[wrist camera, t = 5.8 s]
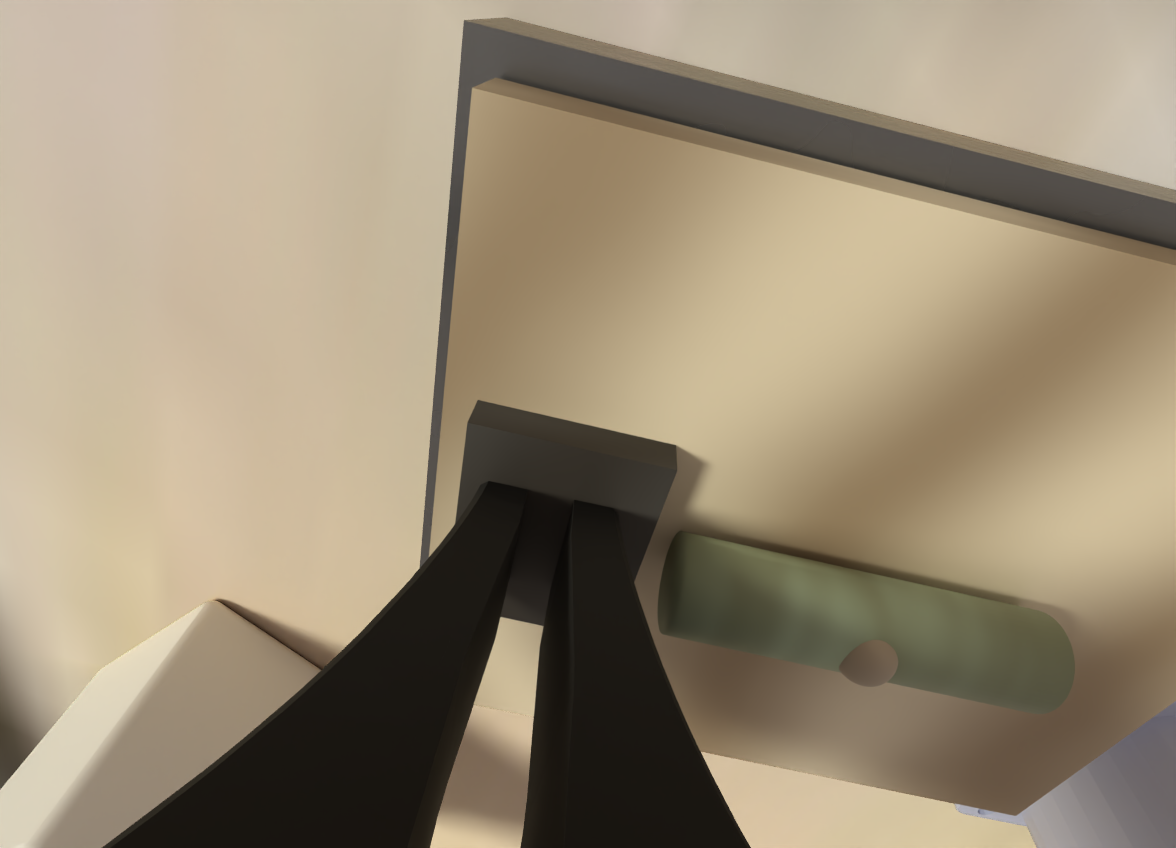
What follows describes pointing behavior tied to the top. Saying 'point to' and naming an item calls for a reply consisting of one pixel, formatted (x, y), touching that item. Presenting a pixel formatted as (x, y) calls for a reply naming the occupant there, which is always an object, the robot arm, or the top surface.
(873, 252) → the leveling plate
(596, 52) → the instrument base
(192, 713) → the medicine bottle
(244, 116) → the top surface
